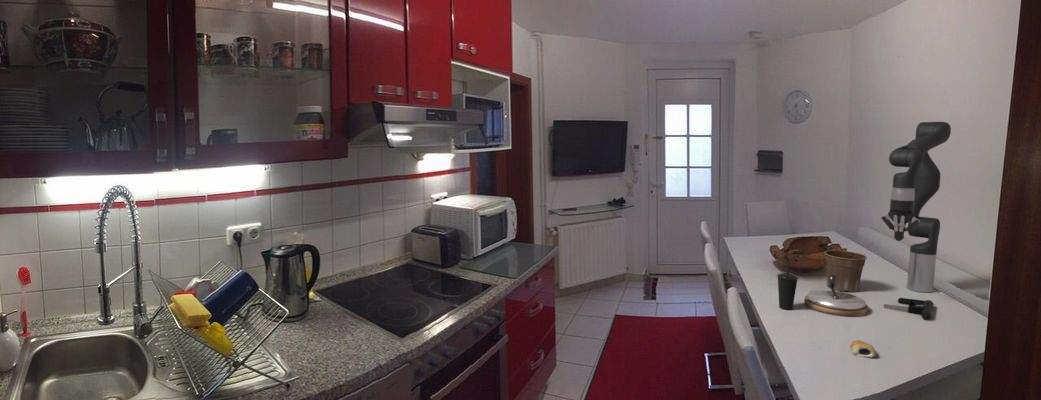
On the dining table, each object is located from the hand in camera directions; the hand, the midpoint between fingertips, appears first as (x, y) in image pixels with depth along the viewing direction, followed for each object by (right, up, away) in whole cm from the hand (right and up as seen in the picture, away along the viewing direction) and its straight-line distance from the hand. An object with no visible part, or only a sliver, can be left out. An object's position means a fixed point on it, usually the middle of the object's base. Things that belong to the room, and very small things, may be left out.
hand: (898, 240), depth 198 cm
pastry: (-44, -34, -40) cm, 68 cm away
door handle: (+2, -28, -4) cm, 29 cm away
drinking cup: (-46, -28, +1) cm, 54 cm away
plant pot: (-7, -24, +24) cm, 35 cm away
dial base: (-26, -28, +1) cm, 38 cm away
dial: (-24, -25, +3) cm, 35 cm away
